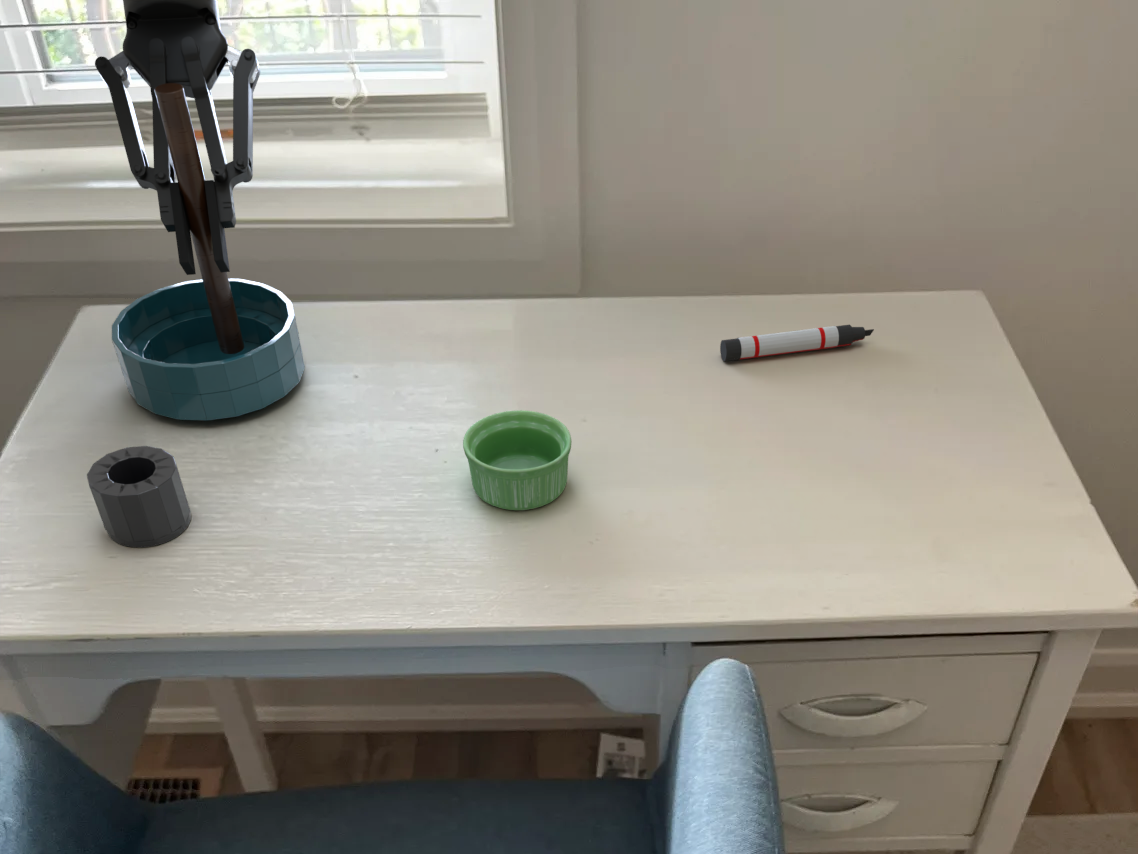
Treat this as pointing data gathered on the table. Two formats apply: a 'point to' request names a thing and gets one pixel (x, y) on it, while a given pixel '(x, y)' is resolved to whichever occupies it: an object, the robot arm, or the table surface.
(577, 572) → the table surface
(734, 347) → the marker
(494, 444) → the ramekin
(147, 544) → the crock
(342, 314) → the table surface
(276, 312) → the bowl
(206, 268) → the stick
